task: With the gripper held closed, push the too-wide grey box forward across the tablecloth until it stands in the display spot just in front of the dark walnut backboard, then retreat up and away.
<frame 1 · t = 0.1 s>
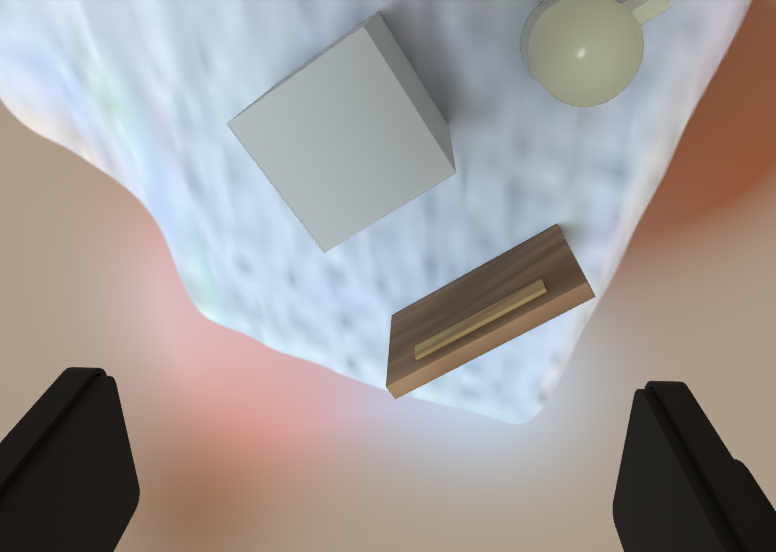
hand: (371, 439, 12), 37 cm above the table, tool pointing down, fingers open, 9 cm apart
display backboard: (474, 277, 51), on the table
grey box: (360, 105, 46), on the table
sage mug: (565, 41, 43), on the table
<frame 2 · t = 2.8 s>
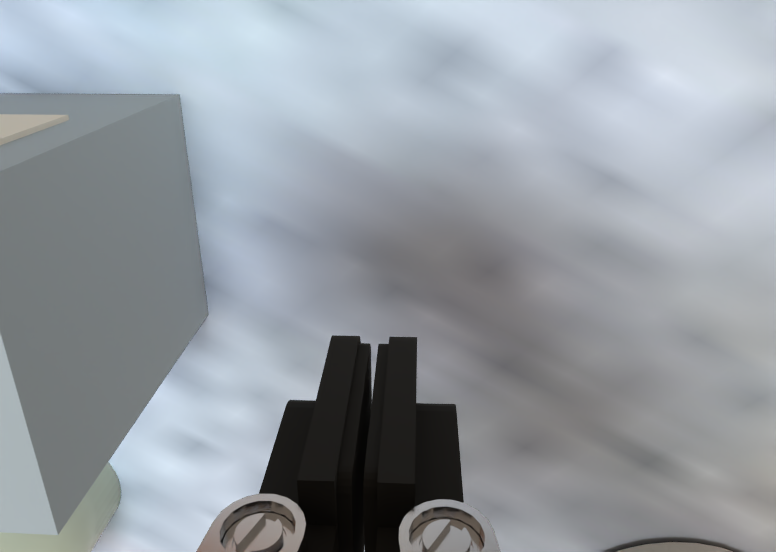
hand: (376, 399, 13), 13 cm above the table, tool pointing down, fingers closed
grey box: (83, 210, 26), on the table
sage mug: (60, 482, 31), on the table
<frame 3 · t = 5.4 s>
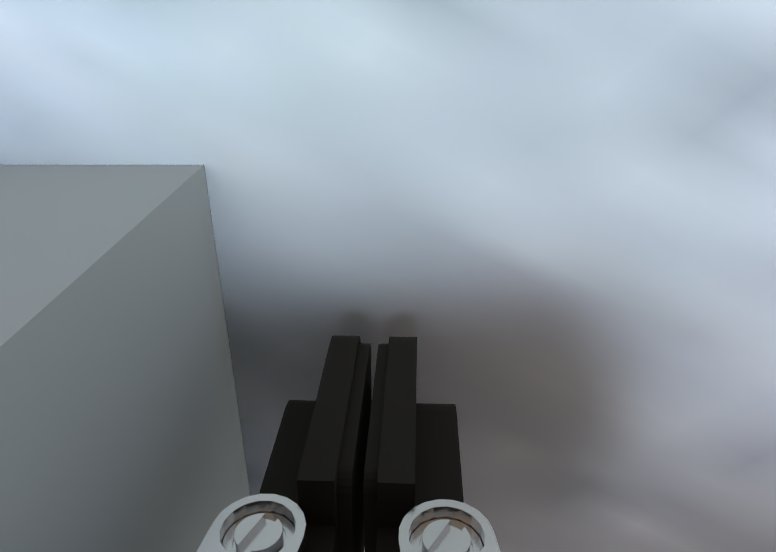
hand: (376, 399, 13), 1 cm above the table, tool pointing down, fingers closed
grey box: (32, 362, 14), on the table, touching gripper
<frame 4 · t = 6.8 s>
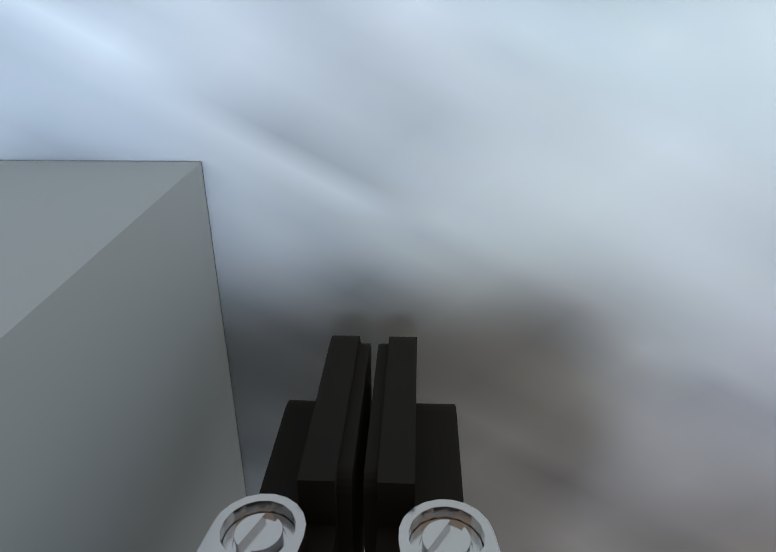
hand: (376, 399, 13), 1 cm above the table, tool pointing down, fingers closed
grey box: (25, 361, 14), on the table, touching gripper
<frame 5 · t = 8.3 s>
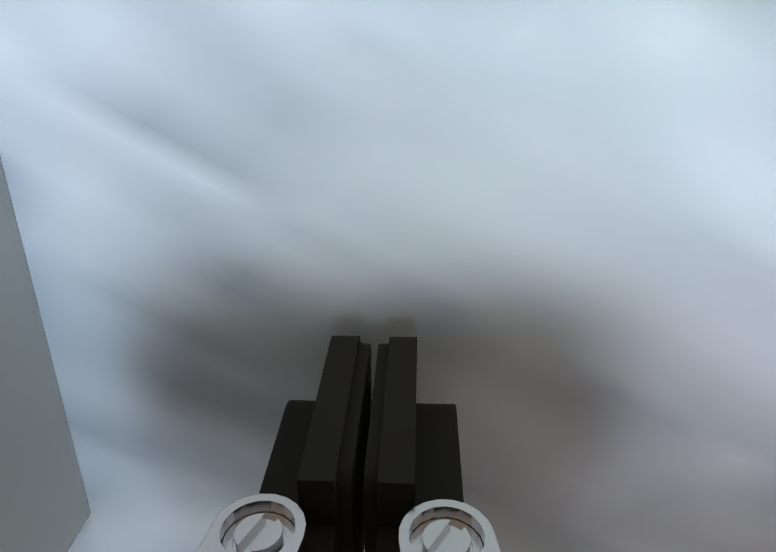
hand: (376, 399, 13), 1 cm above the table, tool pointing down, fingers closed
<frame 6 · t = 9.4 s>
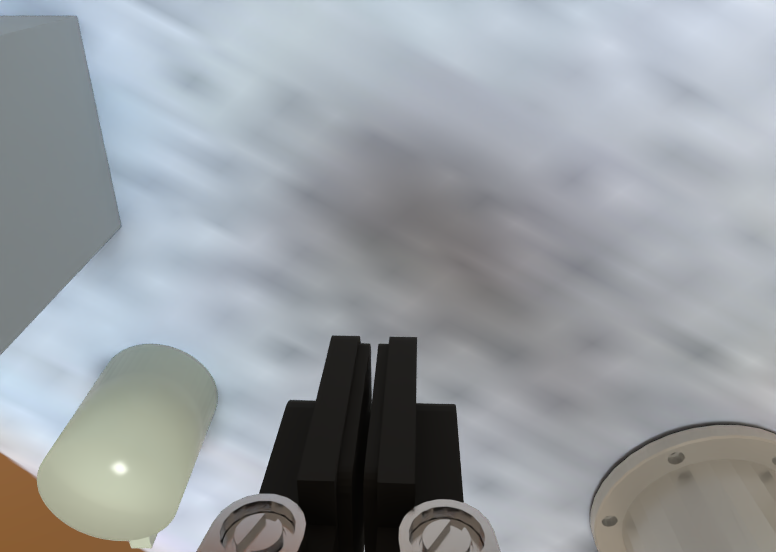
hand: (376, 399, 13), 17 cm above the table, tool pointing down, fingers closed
sage mug: (160, 391, 34), on the table
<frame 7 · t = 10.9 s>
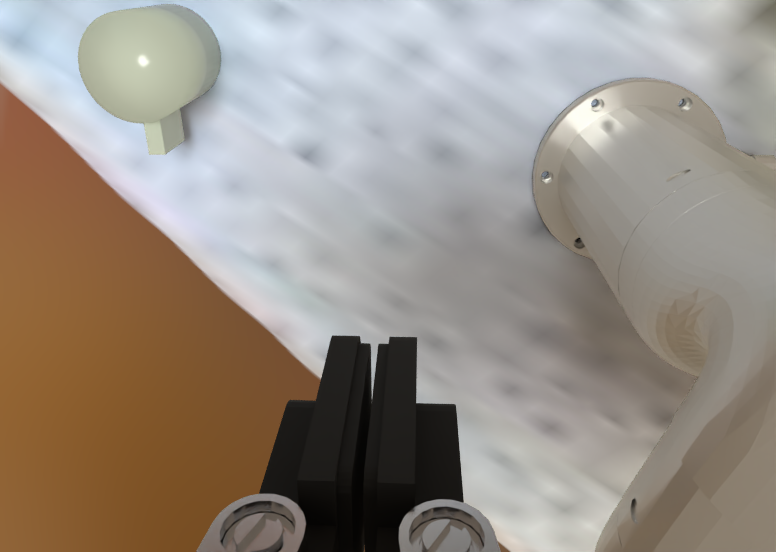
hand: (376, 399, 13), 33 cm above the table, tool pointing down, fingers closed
sage mug: (175, 53, 42), on the table
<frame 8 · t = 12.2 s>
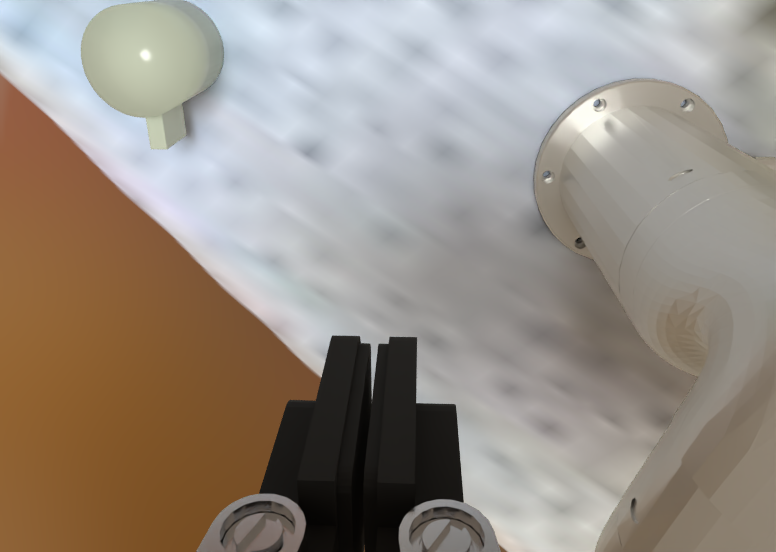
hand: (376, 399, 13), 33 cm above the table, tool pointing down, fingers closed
sage mug: (178, 48, 42), on the table
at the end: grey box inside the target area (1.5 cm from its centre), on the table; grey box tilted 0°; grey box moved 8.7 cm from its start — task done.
